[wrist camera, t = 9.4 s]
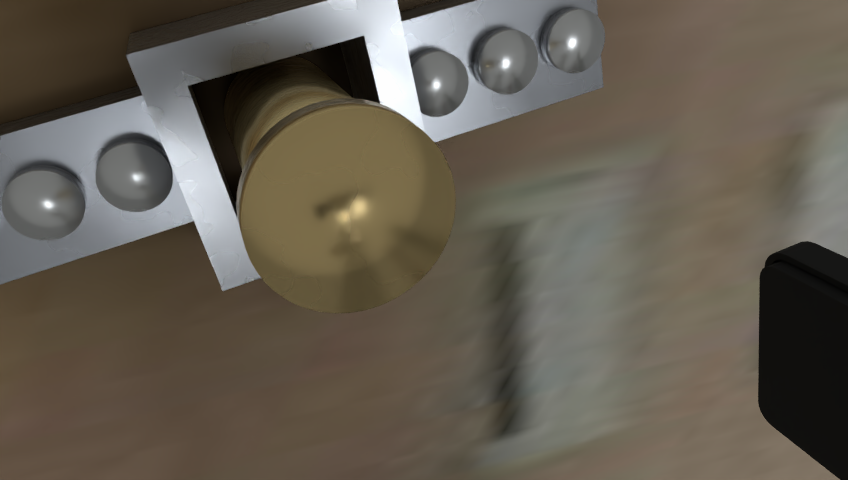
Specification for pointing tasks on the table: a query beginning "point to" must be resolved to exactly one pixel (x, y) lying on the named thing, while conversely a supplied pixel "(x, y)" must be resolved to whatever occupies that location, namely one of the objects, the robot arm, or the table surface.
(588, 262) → the table surface
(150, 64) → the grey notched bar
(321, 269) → the pin
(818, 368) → the robot arm
